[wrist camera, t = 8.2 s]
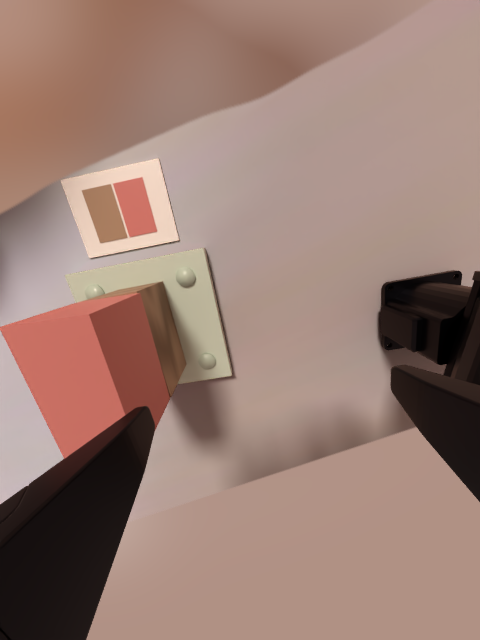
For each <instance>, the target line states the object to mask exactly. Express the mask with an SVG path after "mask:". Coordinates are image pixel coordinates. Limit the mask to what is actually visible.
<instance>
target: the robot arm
mask: <svg viewBox="0 0 480 640" xmlns="http://www.w3.org/2000/svg"><path fill="white" fill-rule="evenodd" d="M454 274H455V276H454V278H453V275H454ZM461 280H462V273H461V272H460V271H455V270H452V271H446V272H441V273H435V274H430V275H424V276H419V277H413V278H407V279H402V280H396V281H391V282H387V283H385V284H384V285H383V286H382V307H381V333H382V347H383V348H385V349H386V350H393V349H399V348H407V349H409V350H410V351H412V352H418V353H419V354H421V355H423V356H425V357H426V358H428V359H430V360H432V361H433V362H435V363H437V364H439V365H443V364H447V366H446V369H445V372H444V375H440V374H437V373H433V372H429V371H426V370H422V369H418V368H415V367H411V366H407V365H400V366H394V367H392V369H391V390H392V393H393V394H394V396H395V397H396V399H397V400H398V401H399V403H400V404H401V406H402V407H403V408H404V410H405V411H406V413H407V414H408V416H409V417H410V418H411V420H412V421H413V423H414V424H415V425H416V427H417V428H418V429H419V431H420V432H421V433H422V435H423V436H424V437H425V438H426V440H427V441H428V442H429V443H430V444H431V445H432V447H433V448H434V449H435V450H436V451H437V452H438V454H439V455H440V456H441V457H442V458H443V459H444V461H445V462H446V463H447V464H448V465H449V466H450V468H451V469H452V470H453V471H454V472H455V474H456V475H457V476H458V477H459V478H460V479H461V481H462V482H463V483H464V484H465V485H466V486H467V488H468V489H469V490H470V491H471V492H472V493H473V495H474V496H475V497H476V498H477V499H478V500H479V502H480V271H475V272H474V276H473V279H472V280H474V283H473V286H472V287H468V286H461ZM389 286H391V288H390V289H389V290H388V287H389ZM388 343H390V344H389V345H388V346H387V344H388ZM154 432H155V422H154V419H153V417H152V414H151V411H150V409H149V407H148V406H141V407H136V408H135V409H133V410H132V411H130V412H129V413H128V414H126V415H125V416H123V417H122V418H121V419H119V420H118V421H116V422H115V423H114V424H112V425H111V426H109V427H108V428H107V429H105V430H104V431H102V432H101V433H100V434H98V435H97V436H95V437H94V438H93V439H91V440H90V441H88V442H87V443H86V444H84V445H83V446H82V447H80V448H79V449H77V450H76V451H75V452H73V453H72V454H70V455H69V456H68V457H66V458H65V459H63V460H62V461H61V462H59V463H58V464H56V465H55V466H54V467H52V468H51V469H49V470H48V471H47V472H45V473H44V474H42V475H41V476H40V477H38V478H37V479H35V480H34V481H33V482H31V483H30V484H29V486H26V487H24V488H23V489H21V490H20V491H19V492H17V493H16V494H14V495H13V496H12V497H10V498H9V499H7V500H6V501H4V502H3V503H2V504H0V640H86V638H87V636H88V633H89V630H90V627H91V624H92V621H93V618H94V615H95V612H96V610H97V606H98V604H99V601H100V598H101V595H102V592H103V590H104V587H105V584H106V581H107V578H108V575H109V572H110V569H111V567H112V563H113V561H114V558H115V555H116V552H117V549H118V547H119V543H120V541H121V538H122V535H123V532H124V529H125V526H126V524H127V521H128V518H129V515H130V512H131V509H132V506H133V504H134V501H135V498H136V495H137V492H138V489H139V486H140V483H141V481H142V478H143V474H144V471H145V468H146V464H147V460H148V456H149V452H150V448H151V444H152V440H153V436H154Z"/></svg>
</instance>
